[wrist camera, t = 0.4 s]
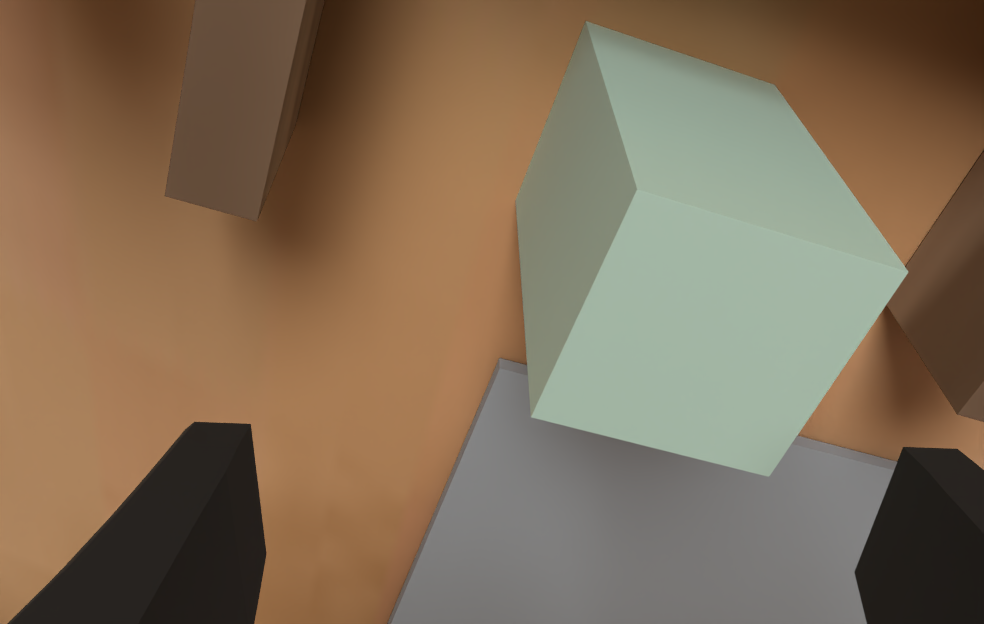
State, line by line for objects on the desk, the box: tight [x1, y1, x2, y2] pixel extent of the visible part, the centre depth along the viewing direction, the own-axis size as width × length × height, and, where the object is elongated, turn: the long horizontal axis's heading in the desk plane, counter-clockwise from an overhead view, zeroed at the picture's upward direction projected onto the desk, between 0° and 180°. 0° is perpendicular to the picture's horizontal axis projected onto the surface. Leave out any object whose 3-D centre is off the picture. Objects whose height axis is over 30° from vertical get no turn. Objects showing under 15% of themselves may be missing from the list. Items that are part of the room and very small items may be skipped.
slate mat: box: [387, 358, 897, 624], centre depth 27 cm, size 14×14×1 cm
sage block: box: [516, 21, 908, 477], centre depth 16 cm, size 4×4×7 cm
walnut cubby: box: [165, 0, 984, 422], centre depth 16 cm, size 16×9×4 cm, turn 72°
